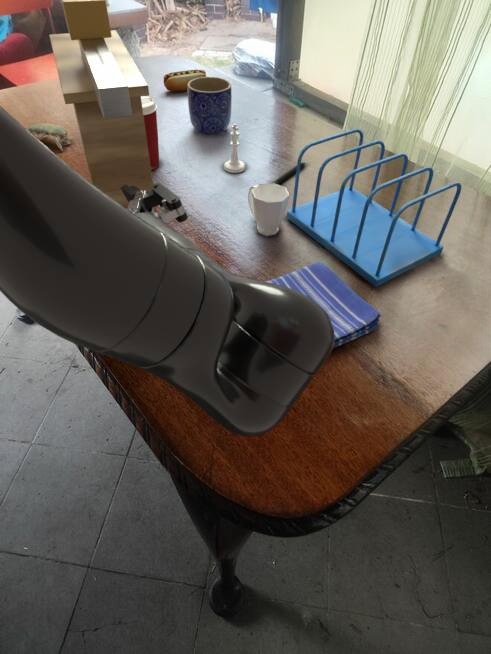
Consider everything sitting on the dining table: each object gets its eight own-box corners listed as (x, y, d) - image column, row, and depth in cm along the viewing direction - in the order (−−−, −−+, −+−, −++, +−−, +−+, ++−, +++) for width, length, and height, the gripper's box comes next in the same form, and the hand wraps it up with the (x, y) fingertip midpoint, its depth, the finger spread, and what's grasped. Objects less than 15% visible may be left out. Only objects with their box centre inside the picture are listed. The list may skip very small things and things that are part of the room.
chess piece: (232, 160, 108) (232, 117, 100) (249, 166, 106) (250, 123, 98) (219, 168, 105) (218, 124, 97) (236, 175, 103) (237, 131, 96)
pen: (306, 159, 106) (302, 161, 107) (268, 186, 97) (264, 187, 98) (307, 164, 107) (303, 165, 107) (269, 191, 98) (265, 192, 99)
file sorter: (285, 218, 91) (293, 144, 80) (348, 194, 98) (363, 122, 87) (375, 288, 77) (399, 209, 66) (441, 254, 84) (473, 178, 73)
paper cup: (157, 154, 109) (150, 92, 98) (168, 168, 104) (161, 105, 94) (125, 160, 106) (114, 97, 96) (135, 175, 102) (124, 111, 91)
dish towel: (383, 328, 71) (387, 315, 69) (252, 387, 62) (253, 375, 60) (319, 266, 81) (321, 254, 79) (198, 310, 73) (197, 297, 70)
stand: (172, 279, 78) (148, 85, 55) (113, 291, 75) (62, 93, 53) (143, 204, 94) (115, 29, 71) (94, 212, 91) (49, 34, 69)
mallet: (141, 114, 49) (131, 40, 44) (94, 120, 48) (78, 44, 43) (110, 52, 63) (100, -9, 58) (73, 55, 62) (59, -8, 57)
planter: (205, 142, 114) (203, 95, 105) (181, 127, 119) (178, 82, 111) (239, 131, 118) (240, 86, 110) (215, 117, 124) (214, 73, 116)
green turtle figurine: (34, 152, 106) (30, 129, 103) (29, 142, 114) (25, 120, 111) (73, 151, 110) (70, 129, 107) (66, 141, 117) (63, 120, 115)
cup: (264, 244, 85) (266, 206, 79) (234, 219, 91) (234, 182, 85) (293, 232, 88) (297, 195, 82) (262, 208, 93) (265, 172, 88)
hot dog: (209, 89, 138) (209, 72, 135) (168, 95, 134) (166, 77, 131) (203, 84, 141) (202, 66, 138) (162, 90, 137) (160, 72, 134)
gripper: (203, 191, 41) (131, 151, 52) (68, 281, 38) (21, 218, 49) (229, 254, 46) (158, 206, 57) (113, 337, 43) (61, 269, 54)
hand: (95, 212), depth 53 cm, fingers open, 8 cm apart
